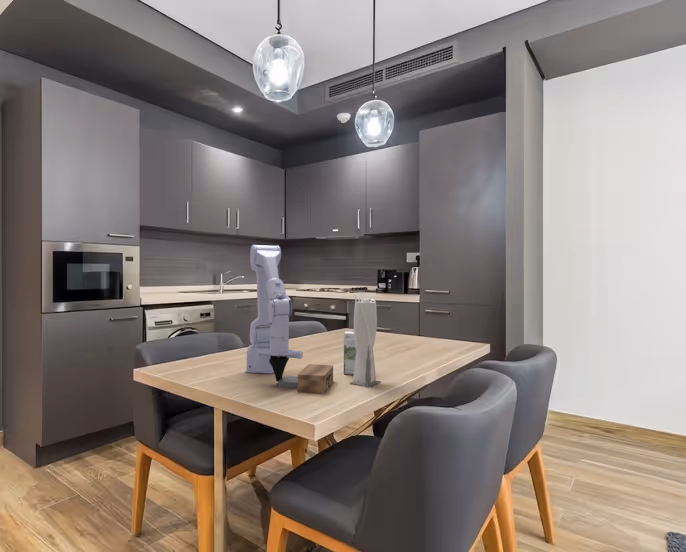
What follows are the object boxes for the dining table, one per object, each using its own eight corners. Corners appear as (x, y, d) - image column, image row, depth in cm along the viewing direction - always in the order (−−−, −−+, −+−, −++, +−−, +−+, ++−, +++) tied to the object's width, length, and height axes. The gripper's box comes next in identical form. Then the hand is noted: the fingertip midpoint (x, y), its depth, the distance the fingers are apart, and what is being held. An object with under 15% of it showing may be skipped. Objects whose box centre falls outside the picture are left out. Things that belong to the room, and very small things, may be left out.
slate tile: (277, 388, 122) (277, 381, 122) (284, 381, 129) (284, 375, 129) (319, 390, 120) (319, 383, 120) (324, 384, 127) (324, 377, 127)
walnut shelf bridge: (297, 391, 118) (297, 374, 118) (308, 379, 131) (308, 364, 131) (324, 393, 117) (324, 375, 117) (333, 380, 130) (333, 365, 130)
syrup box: (363, 371, 143) (363, 330, 142) (359, 376, 137) (359, 333, 137) (347, 370, 144) (347, 329, 144) (343, 374, 138) (343, 332, 138)
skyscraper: (346, 383, 128) (347, 294, 128) (359, 377, 135) (360, 293, 134) (369, 387, 123) (370, 295, 123) (381, 381, 130) (383, 294, 130)
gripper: (252, 338, 123) (251, 382, 123) (298, 339, 121) (298, 385, 121) (260, 334, 130) (260, 376, 130) (304, 336, 128) (304, 379, 128)
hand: (279, 380), depth 126 cm, fingers closed
